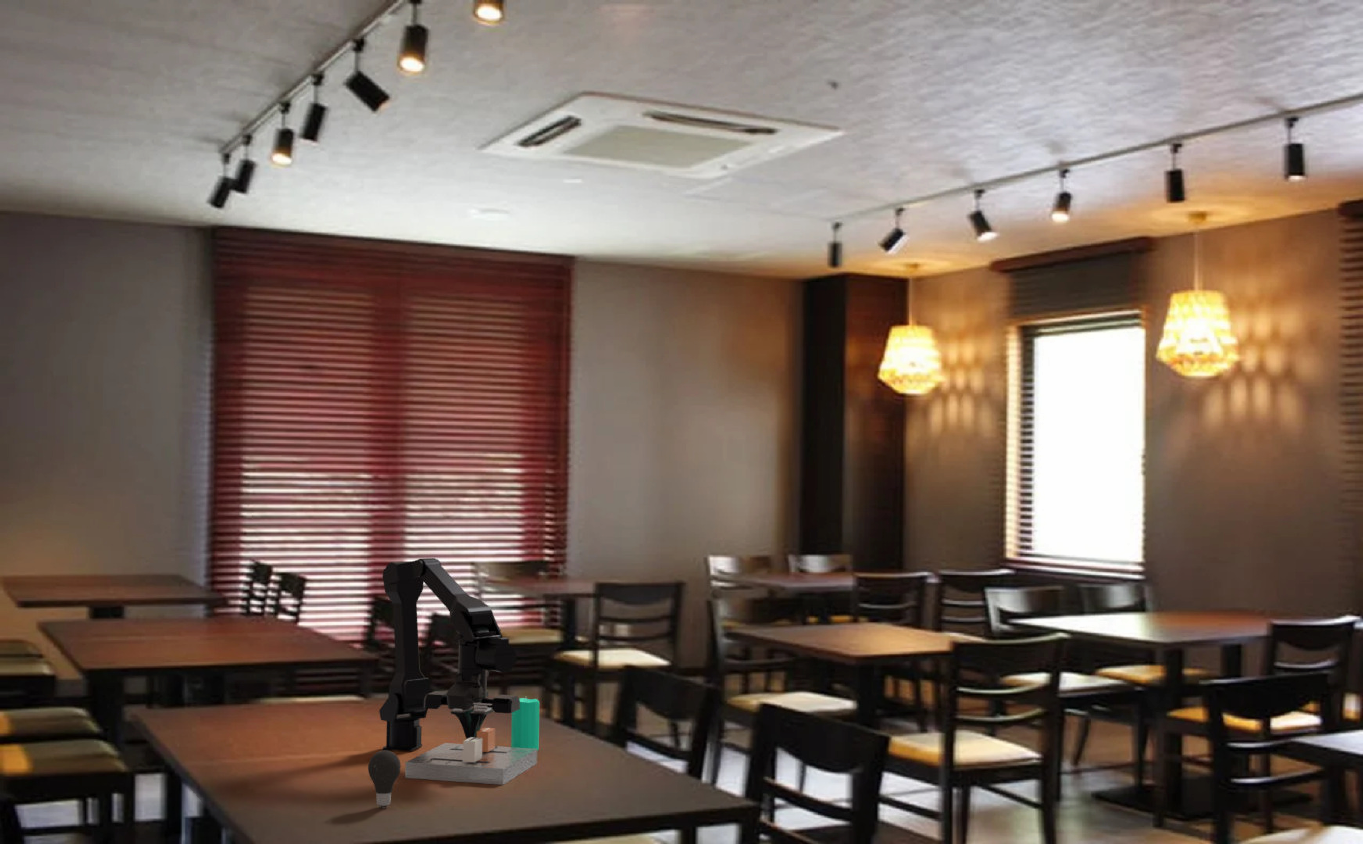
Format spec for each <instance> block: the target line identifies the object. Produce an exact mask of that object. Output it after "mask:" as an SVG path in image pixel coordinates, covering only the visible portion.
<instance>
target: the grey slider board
mask: <svg viewBox="0 0 1363 844" xmlns="http://www.w3.org/2000/svg"><path fill="white" fill-rule="evenodd" d="M537 763H538V751H537V749H532V748H516V747H511V746H501V745H500V746H499V745H497V746H496V745H495V748H494V749H492V750H491V751H489V752H482V759H480V760H478V761H476V762H475V763H473V762H463V743H451V742H444V743H442V744H440V745H438V746H436V747H433V748H432V749H430V750H428V751H426V752H423V753H421V754H419V755H417V756H415V757H413V758H411V759H409V760H407V761H405V763H404V764H405V766H404V767H405V768H404V770H405V772H404V774H405V775H404V778H405V779H415V780H432V781H443V782H458V783H459V782H461V783H473V784H474V783H475V784H486V785H489V784H490V785H499V786H500V785H505V784H507V783H509V782H510V781H512V780H513V779H514V778H516V777H517V776H519V775H521V774H522V773H524V772H526V771H527V770H529V769H531V768H532V767H534V766H535V765H537Z"/></svg>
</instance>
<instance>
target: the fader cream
mask: <svg viewBox="0 0 1363 844" xmlns="http://www.w3.org/2000/svg"><path fill="white" fill-rule="evenodd" d="M462 744H463V762H473V763H475V762H476V761H478V760H480V759H482V738H478V737H470V738H468V739H466V738H465V739H464V740H463V743H462Z"/></svg>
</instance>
